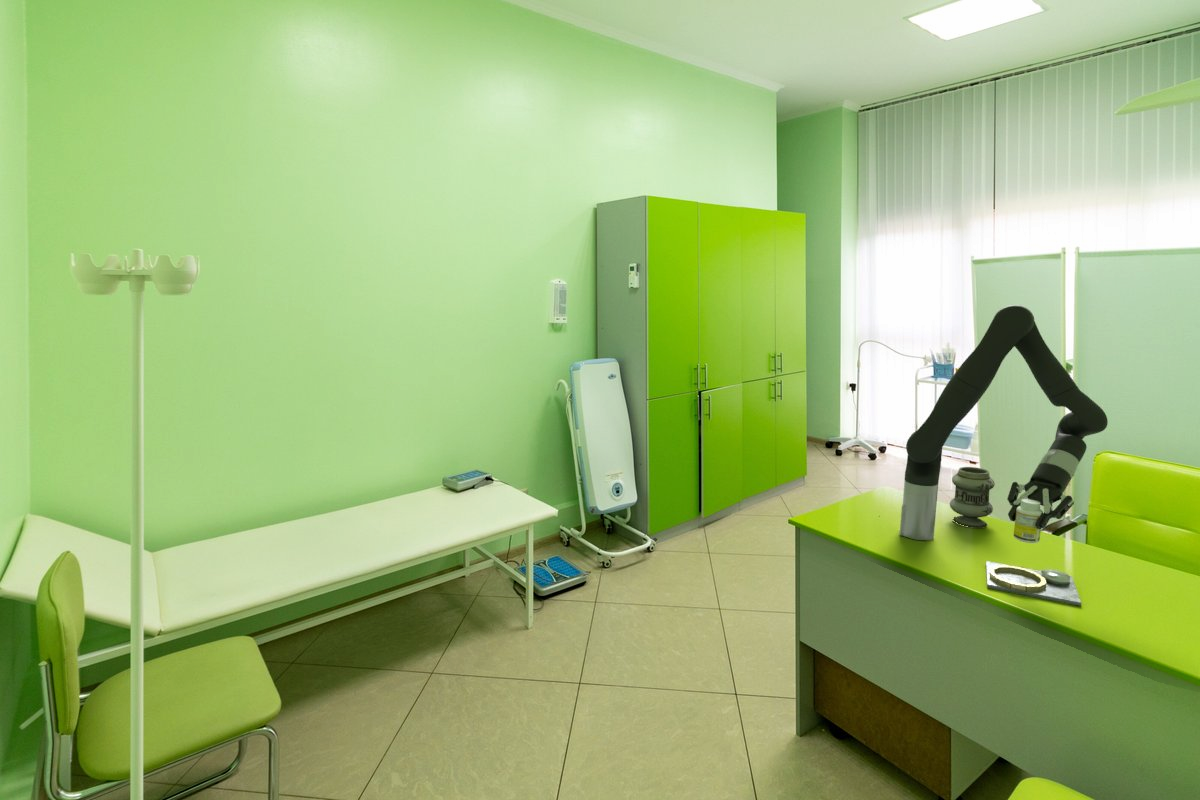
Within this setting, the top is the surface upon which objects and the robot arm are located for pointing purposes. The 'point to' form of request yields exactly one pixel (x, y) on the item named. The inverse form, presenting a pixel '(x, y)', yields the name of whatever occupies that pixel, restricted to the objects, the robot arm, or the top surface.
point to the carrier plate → (1032, 582)
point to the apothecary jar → (972, 496)
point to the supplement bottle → (1027, 521)
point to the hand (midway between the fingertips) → (1024, 523)
